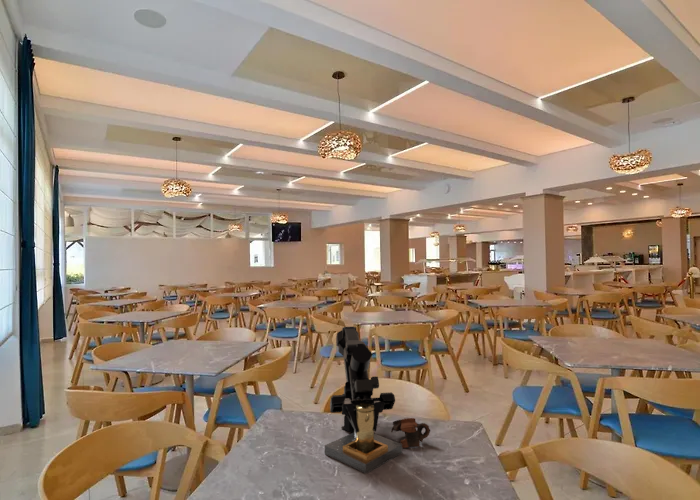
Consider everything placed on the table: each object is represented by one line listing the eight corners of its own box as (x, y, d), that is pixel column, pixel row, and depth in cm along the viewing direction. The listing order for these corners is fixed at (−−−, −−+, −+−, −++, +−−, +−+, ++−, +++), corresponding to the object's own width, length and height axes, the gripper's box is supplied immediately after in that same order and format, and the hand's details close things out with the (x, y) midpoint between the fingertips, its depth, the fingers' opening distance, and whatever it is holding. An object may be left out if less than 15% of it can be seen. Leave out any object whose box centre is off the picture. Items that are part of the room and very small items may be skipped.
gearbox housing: (361, 436, 130) (361, 419, 130) (402, 452, 119) (401, 433, 119) (324, 454, 119) (324, 434, 119) (365, 473, 108) (365, 452, 108)
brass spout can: (354, 449, 117) (354, 403, 118) (372, 448, 118) (372, 403, 118) (359, 462, 110) (358, 413, 110) (377, 460, 111) (377, 412, 111)
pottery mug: (392, 450, 122) (387, 421, 126) (398, 452, 130) (393, 424, 134) (431, 443, 120) (425, 413, 124) (435, 445, 128) (429, 417, 132)
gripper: (330, 367, 118) (334, 421, 107) (393, 365, 121) (403, 417, 110) (328, 386, 126) (332, 438, 115) (387, 383, 129) (396, 434, 117)
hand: (366, 431), depth 114 cm, fingers closed on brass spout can, 5 cm apart
